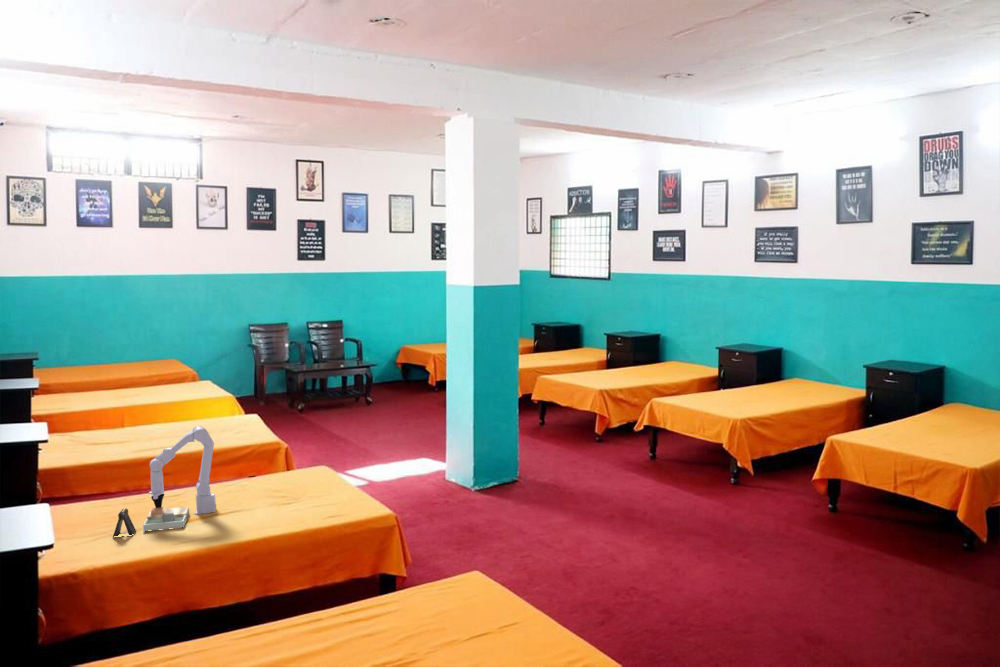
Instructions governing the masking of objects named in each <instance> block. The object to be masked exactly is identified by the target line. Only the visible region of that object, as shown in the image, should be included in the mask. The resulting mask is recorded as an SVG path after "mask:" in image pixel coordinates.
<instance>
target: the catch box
mask: <svg viewBox="0 0 1000 667" xmlns="http://www.w3.org/2000/svg"><path fill="white" fill-rule="evenodd" d="M185 523H187V521H186V515H184V517H178V518H174V522H164V523H163V519H157V520H148V519H147V518H146V519H145V521H144V523H143V524H142V526H143V527H142V528H143V530H142V531H143V532H144V531H148V530H159V529H169V528H179V529H183V528H182V527H184V528H185V526H186V524H185ZM169 530H170V529H169ZM159 531H160V530H159Z"/></svg>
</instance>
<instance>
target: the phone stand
mask: <svg viewBox="0 0 1000 667" xmlns="http://www.w3.org/2000/svg"><path fill="white" fill-rule="evenodd" d="M117 516H118V518H117V519H118V520H117V523H116V526H115V530H114V533H113V535H112V538H113V537H114V536H118V535H119V534H126V533H128V534H129V535H132V534H134V533H135V532H136V533H137V530H136V528H135V526H134V523H133V521H132V519H131V517H130V515H129V509H127V508H123V509H121V510H120V512H119V513H118V515H117ZM123 522H124V525H125V528H126V530H127V531H126V532H125V531H124V532H123V531H122V526H123ZM121 531H122V532H121ZM136 533H135V534H136ZM135 534H134V535H135Z"/></svg>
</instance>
